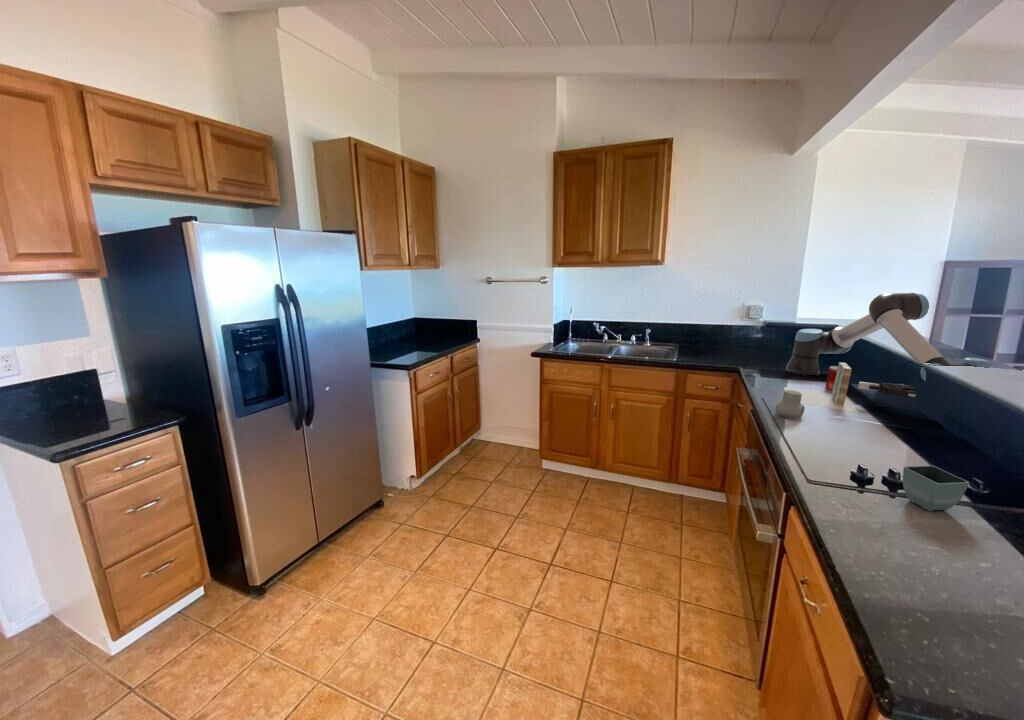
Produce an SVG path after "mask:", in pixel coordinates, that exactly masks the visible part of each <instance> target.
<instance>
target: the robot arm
mask: <svg viewBox="0 0 1024 720" xmlns="http://www.w3.org/2000/svg"><path fill="white" fill-rule="evenodd" d="M929 309H930V303H929V300H928V297H926V296H925V295H924V294H922V293H916V292H903V293H902V292H885V293H881V294H879V295H877V296H876V297H874V298H873V299H872V300H871V301H870V303H869V305H868V313H869V314H868V313H867V314H866V315H864V316H862V317H861V318H859V319H857V320H855V321H853V322H851V323H850V324H849V323H848V324H847V325H845V326H843V327H842V326H838V327H835V328H833V329H831V330H830V331H823V330H822V329H819V328H802V329H799V330H798V331H797V332H796V334H795V338H794V342H793V343H794V344H793V348H792V349H793V350H792V355H791V358H790V359H789V361H788V363H787V364H786V367H785V371H786V372H788V373H791V372H792V373H791V374H794V373H795V375H799V374H802V375H801V376H806V375H817V376H819V375H820V371H821V369H820V365H819V361H818V360H819V356H820V354H821V355H822V354H824V355H826V354H834V355H840V354H845V353H847V352H849V351H850V350H851V349H852V347H853V345H854V343H855V342H857V341H858V340H861V339H862V338H866V337H867V336H869V335H871V334H874V333H875V332H877V331H879V330H882V329H885V330H886V332H887V333H888V334H889V335H890V336H891V338H893V339H894V341H895V342H897V344H899V346H900V347H901V348H902V349H903V350H904V351H905V352H906V353H907V354H908V355H909V357H911V359H912V360H913V361H914V362H915V361H916V362H921V363H930V364H928V365H933V366H974V367H984V368H990V369H991V365H992V364H991V361H990V360H988V359H983V358H976V357H964V358H962V362H961V363H962V364H961V363H950V362H949V361H948V360H947V359H946V358H945V357H944V356H943V355H942V354H941V353H940V352H939V351H938V350H937V349H936V348H935V347H934V346H933V345H932V344H931V343H930V342H929V341H928V340H927V339H926V338H925V337H924V336H923V335H922V334H921V333H920V332H919V331H918V330H917V329H916V328H915V327H914V326H913V325H912V324H911V323H910V322H909V321H910V320H912V321H917V320H920V319H923V318H925V316H927V314H928V313H929ZM916 362H915V363H916ZM919 374H920V376H921V379H922V380H923V381H924V382H926V371H925V369H924V367H922V368H921V369H920V372H919ZM911 386H912V385H906V386H905V383H889V382H878V383H875V382H866V381H859V382H858V386H857V389H860V390H866V391H875V392H880V393H882V394H887V395H892V396H898V397H904V398H908V399H916V397H915V396H916V392H915V391H914V388H913V387H911Z"/></svg>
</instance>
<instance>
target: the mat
mask: <svg viewBox="0 0 1024 720" xmlns="http://www.w3.org/2000/svg"><path fill="white" fill-rule="evenodd" d="M783 390H784V391H786V390H793V391H797V392H800V393H801V394H802V397H801V402H800V403H801V404H802V405H806V406H811V407H818V408H819V407H821V408H827V409H832V410H833V409H834V410H840V411H848V412H853V413H854V412H855V413H859V411H858V410H857V409H856V407H855V405H854V404H853V403H852V402H851V401H850V399H849V397H848V396H847V395H846V398H845V402H844V406H840V405H836V403H835V402H834V400H833V398H832V393H831V392H824V391H817V390H810V389H801V388H794V387H787V386H783Z"/></svg>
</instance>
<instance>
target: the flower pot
mask: <svg viewBox="0 0 1024 720" xmlns="http://www.w3.org/2000/svg"><path fill="white" fill-rule="evenodd" d="M969 485H970V481H968V480H966V479H963V478H962V477H958V476H957V475H955V474H952V473H950V472H948V471H947V470H946V471H945V470H943V469H941V468H940V467H937V466H935V465H916V466H915V465H913V466H912V465H911V466H903V472H902V486H903V491H904V493H905V495H906V497H907V499H908V500H909V501H910V500H911V501H913V502H914V503H913V502H912V503H913V504H915V503H916V504H918V505H920V506H922V507H924V508H926V509H927V510H930V511H929V512H935V511H934V510H945V511H947V510H950V509H951V508H953V507H954V506H956V505H957V504H959V502H960V501H961V500H962V498H963V496H964V494H965V492H966V491H967V489H968V487H969ZM911 501H910V502H911ZM916 504H915V505H916ZM918 505H917V506H918ZM920 506H919V507H920ZM922 507H921V508H922ZM924 508H923V509H924ZM927 510H926V511H927ZM932 510H933V511H932Z"/></svg>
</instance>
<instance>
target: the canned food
mask: <svg viewBox="0 0 1024 720" xmlns="http://www.w3.org/2000/svg"><path fill="white" fill-rule="evenodd" d="M837 369H838V366H837V365H832V366H829V368H828V374H827V378H826V383H825V389H826V390H828V391H831V392H833V387H834V383H835V378H836V373H837Z"/></svg>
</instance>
